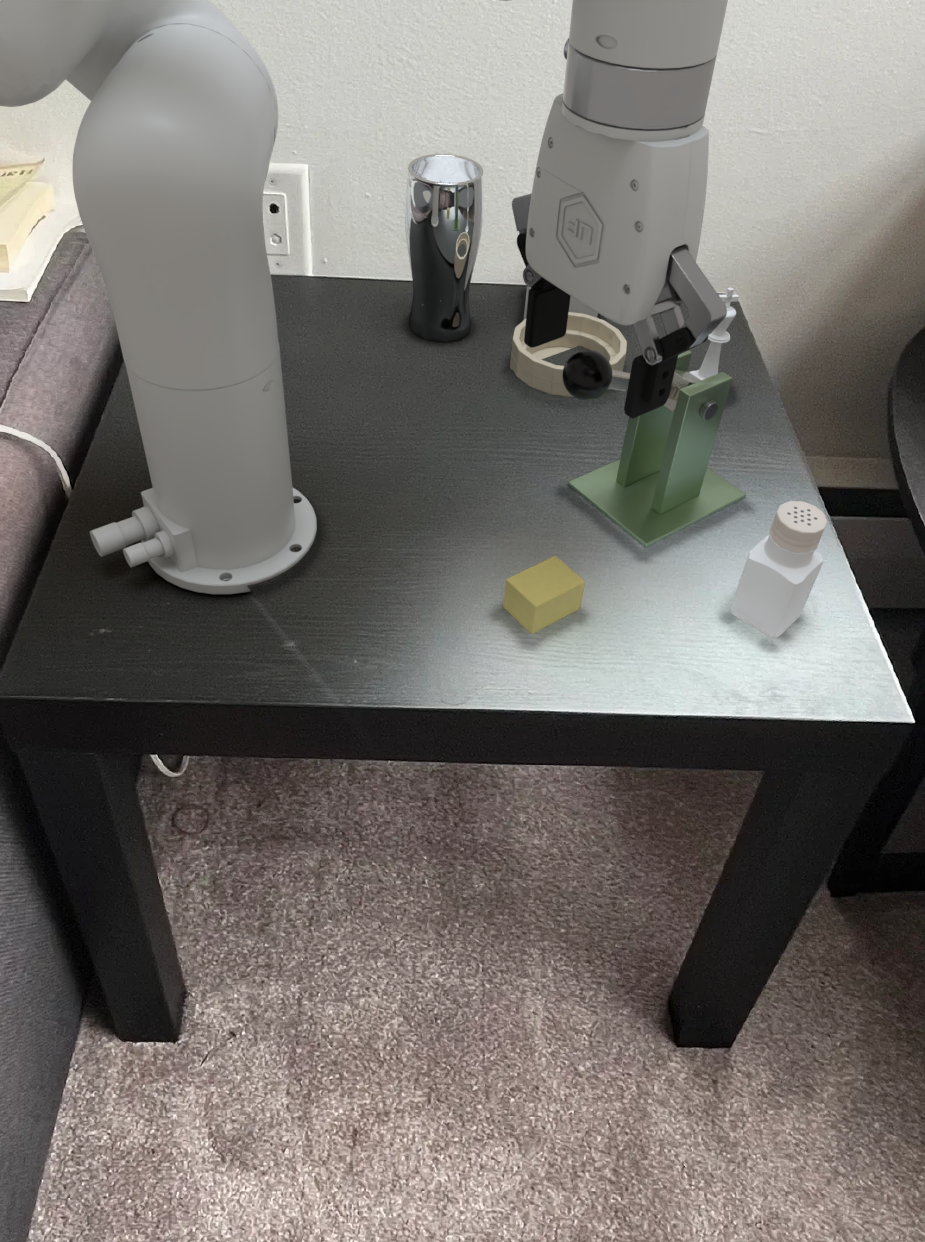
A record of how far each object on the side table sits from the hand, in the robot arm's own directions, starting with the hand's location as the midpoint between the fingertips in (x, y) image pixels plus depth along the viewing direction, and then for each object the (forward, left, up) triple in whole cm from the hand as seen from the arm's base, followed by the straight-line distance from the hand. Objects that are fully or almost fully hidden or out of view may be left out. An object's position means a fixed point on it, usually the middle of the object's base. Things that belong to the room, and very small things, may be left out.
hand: (592, 373), depth 63 cm
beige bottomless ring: (+16, +18, -15) cm, 28 cm away
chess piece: (+25, +9, -15) cm, 30 cm away
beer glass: (+11, +31, -15) cm, 36 cm away
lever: (+4, 0, -4) cm, 6 cm away
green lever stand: (+10, 0, -15) cm, 18 cm away
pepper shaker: (+7, -14, -15) cm, 21 cm away
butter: (-6, -5, -15) cm, 17 cm away
